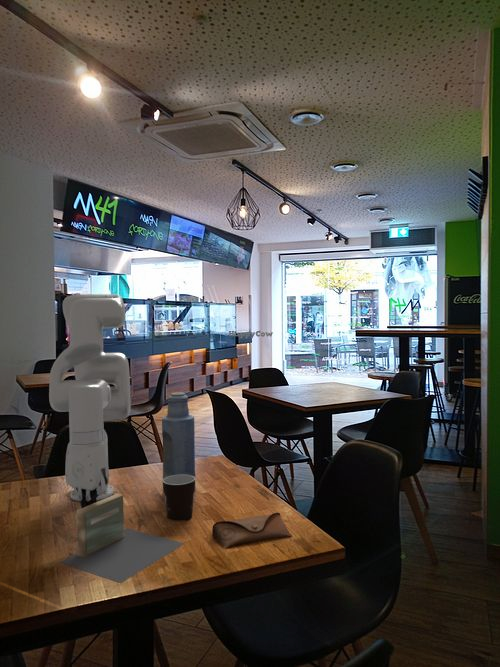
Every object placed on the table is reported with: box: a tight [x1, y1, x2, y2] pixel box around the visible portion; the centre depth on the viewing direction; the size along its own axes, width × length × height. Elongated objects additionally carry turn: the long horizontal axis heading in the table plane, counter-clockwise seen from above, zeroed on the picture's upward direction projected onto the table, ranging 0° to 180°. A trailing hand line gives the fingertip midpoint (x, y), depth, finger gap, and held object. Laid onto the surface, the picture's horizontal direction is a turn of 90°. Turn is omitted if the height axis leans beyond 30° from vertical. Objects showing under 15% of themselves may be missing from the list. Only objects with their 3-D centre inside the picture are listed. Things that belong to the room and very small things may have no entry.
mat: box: [59, 527, 185, 584], centre depth 112 cm, size 18×20×1 cm
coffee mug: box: [161, 474, 196, 522], centre depth 134 cm, size 12×9×10 cm
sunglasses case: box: [211, 512, 293, 550], centre depth 120 cm, size 18×7×7 cm
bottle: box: [161, 391, 196, 494], centre depth 152 cm, size 10×10×30 cm
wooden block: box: [76, 493, 125, 557], centre depth 115 cm, size 2×12×10 cm, turn 149°
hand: (89, 515), depth 117 cm, fingers closed
